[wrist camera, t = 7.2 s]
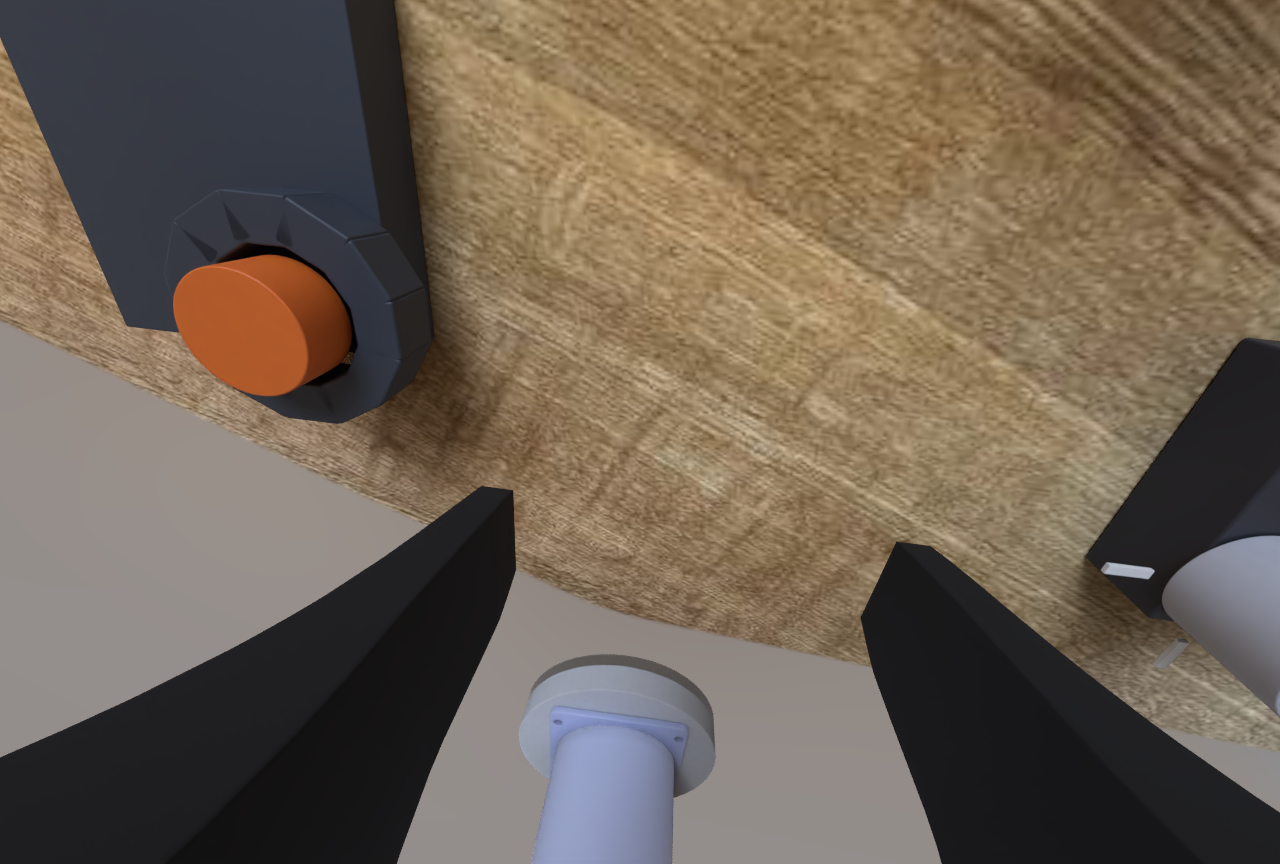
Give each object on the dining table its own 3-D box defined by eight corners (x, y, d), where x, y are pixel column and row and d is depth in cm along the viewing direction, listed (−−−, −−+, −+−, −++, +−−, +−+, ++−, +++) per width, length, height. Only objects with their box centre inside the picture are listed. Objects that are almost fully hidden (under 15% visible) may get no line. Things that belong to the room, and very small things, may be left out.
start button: (362, 378, 14) (321, 404, 12) (254, 365, 14) (200, 389, 12) (338, 261, 12) (288, 273, 11) (217, 247, 12) (149, 258, 11)
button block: (468, 381, 17) (413, 433, 14) (204, 350, 18) (86, 394, 14) (428, -44, 12) (322, -135, 8) (47, -78, 12) (-210, -179, 9)
